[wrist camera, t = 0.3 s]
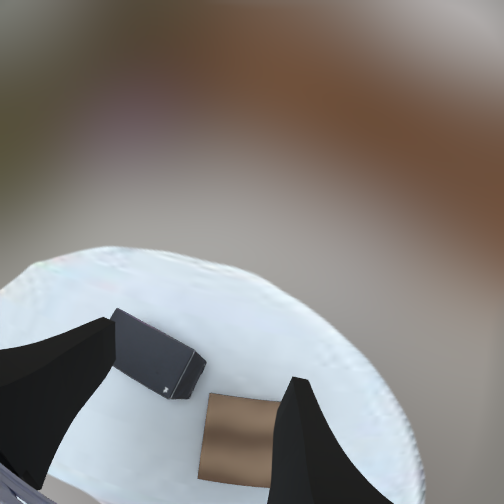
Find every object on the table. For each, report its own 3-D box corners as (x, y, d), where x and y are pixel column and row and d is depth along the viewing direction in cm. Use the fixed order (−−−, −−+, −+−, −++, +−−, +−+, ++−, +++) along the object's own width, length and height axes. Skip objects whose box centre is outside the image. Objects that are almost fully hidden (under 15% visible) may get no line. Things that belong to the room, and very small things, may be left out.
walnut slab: (290, 483, 31) (292, 488, 29) (200, 473, 32) (197, 478, 30) (301, 403, 37) (305, 404, 34) (211, 393, 37) (209, 393, 35)
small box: (209, 359, 39) (198, 348, 30) (188, 400, 36) (170, 403, 27) (143, 325, 41) (116, 304, 31) (123, 363, 38) (90, 353, 29)
